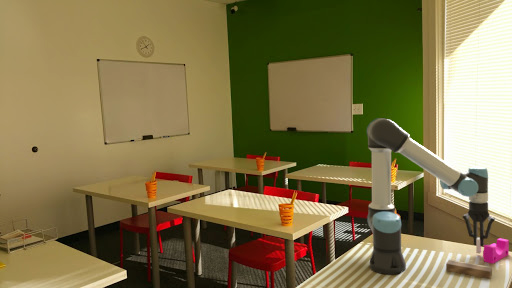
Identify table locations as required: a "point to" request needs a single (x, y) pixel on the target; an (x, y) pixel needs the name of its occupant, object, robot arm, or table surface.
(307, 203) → the table surface
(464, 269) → the walnut plank
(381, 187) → the robot arm
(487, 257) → the toy block
